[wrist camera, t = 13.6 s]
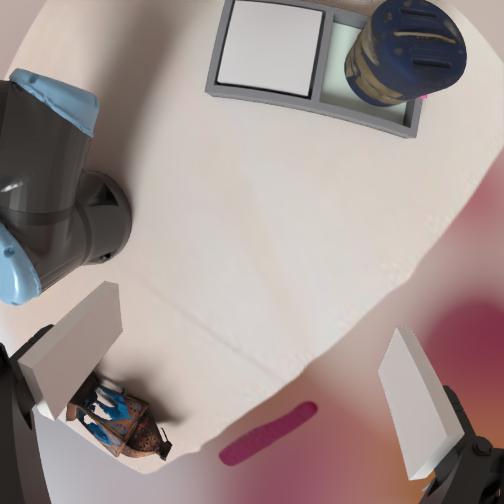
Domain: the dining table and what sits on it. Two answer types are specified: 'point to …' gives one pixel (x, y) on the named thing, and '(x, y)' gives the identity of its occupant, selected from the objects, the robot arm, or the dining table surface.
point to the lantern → (118, 422)
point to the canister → (405, 53)
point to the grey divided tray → (297, 62)
